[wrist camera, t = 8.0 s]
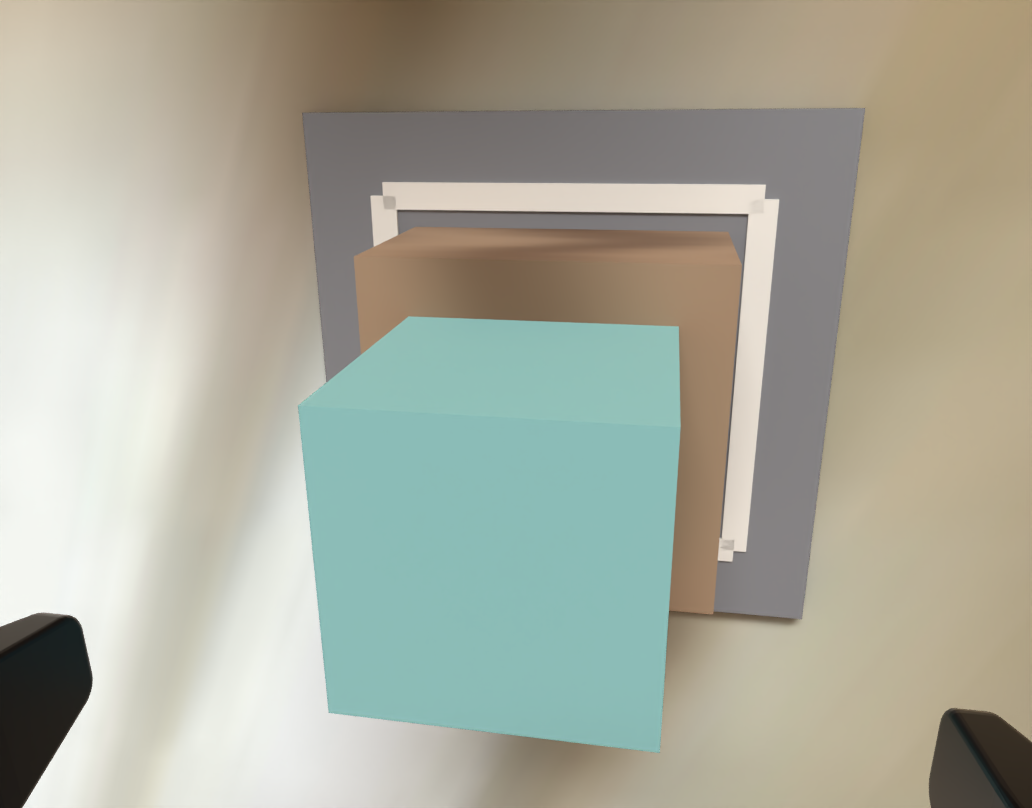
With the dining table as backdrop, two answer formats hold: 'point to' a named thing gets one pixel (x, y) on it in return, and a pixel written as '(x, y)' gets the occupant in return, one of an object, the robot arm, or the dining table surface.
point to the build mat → (638, 206)
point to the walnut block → (591, 299)
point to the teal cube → (498, 527)
